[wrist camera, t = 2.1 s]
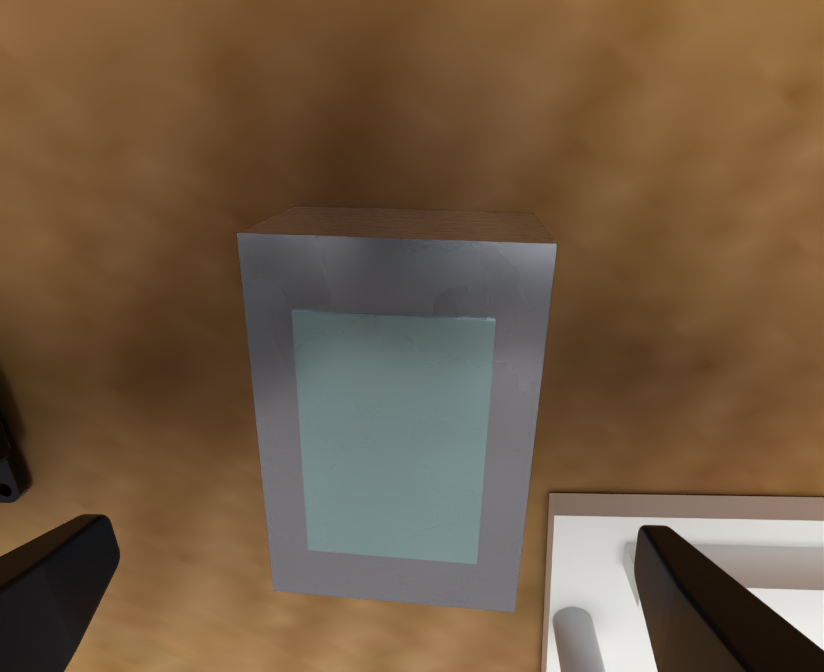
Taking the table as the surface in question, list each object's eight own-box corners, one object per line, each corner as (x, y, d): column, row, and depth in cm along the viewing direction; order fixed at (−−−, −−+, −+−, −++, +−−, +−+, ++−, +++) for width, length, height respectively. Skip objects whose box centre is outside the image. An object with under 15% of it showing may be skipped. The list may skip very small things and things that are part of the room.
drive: (315, 490, 17) (272, 594, 13) (297, 204, 14) (234, 234, 10) (503, 504, 17) (514, 616, 13) (532, 211, 13) (558, 245, 10)
